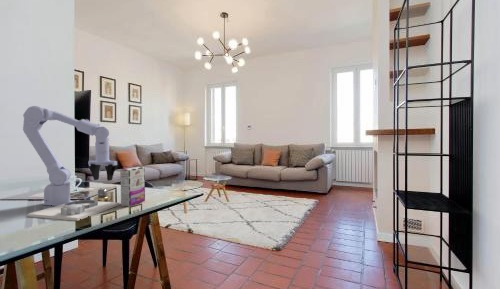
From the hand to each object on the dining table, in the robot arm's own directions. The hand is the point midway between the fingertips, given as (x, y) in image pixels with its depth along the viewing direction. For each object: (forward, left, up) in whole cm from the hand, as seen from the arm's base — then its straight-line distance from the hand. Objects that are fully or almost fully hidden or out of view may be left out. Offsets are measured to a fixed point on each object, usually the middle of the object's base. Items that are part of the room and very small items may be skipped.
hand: (103, 180), depth 122 cm
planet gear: (0, 0, -10) cm, 10 cm away
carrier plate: (+3, -17, -10) cm, 20 cm away
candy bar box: (+18, -2, -10) cm, 20 cm away
